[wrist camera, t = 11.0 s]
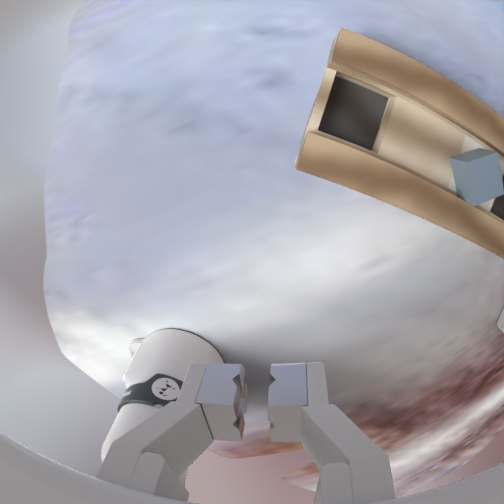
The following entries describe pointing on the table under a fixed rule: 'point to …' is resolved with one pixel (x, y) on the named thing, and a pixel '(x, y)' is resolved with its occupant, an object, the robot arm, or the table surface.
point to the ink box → (501, 321)
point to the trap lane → (401, 136)
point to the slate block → (477, 176)
